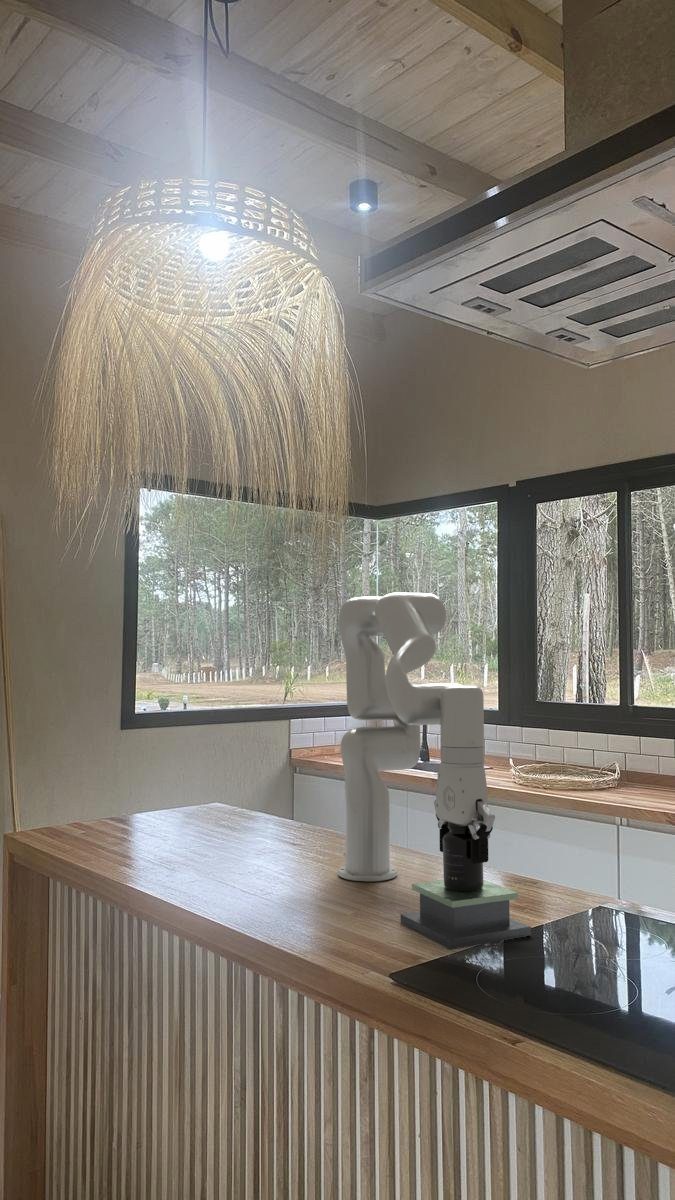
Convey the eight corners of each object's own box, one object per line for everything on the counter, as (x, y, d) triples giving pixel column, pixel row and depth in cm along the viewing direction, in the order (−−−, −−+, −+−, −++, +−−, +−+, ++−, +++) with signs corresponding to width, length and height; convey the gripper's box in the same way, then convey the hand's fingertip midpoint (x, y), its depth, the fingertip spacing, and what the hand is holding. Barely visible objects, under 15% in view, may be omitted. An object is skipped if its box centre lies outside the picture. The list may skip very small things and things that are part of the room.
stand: (400, 923, 158) (400, 882, 159) (476, 912, 165) (476, 873, 166) (449, 949, 144) (449, 904, 145) (531, 936, 151) (530, 893, 151)
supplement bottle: (457, 880, 160) (456, 812, 161) (490, 887, 156) (489, 816, 157) (435, 888, 155) (434, 817, 156) (469, 895, 151) (468, 822, 151)
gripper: (418, 753, 163) (419, 849, 162) (472, 762, 147) (473, 869, 146) (453, 751, 166) (454, 845, 165) (510, 760, 150) (511, 864, 149)
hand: (463, 856), depth 156 cm, fingers open, 9 cm apart
